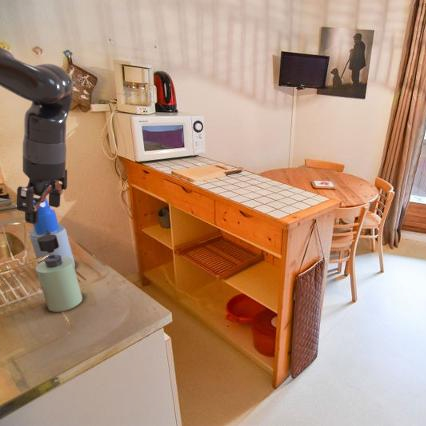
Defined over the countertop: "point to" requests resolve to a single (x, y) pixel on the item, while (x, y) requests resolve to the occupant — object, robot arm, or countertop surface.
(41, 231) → the spray bottle
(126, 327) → the countertop surface
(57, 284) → the dispenser
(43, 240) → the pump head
